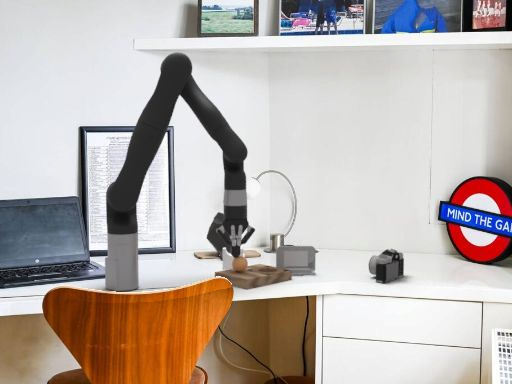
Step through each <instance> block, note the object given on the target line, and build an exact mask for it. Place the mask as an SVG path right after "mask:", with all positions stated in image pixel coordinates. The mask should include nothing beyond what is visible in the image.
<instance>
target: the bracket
mask: <svg viewBox="0 0 512 384" xmlns="http://www.w3.org/2000/svg"><path fill="white" fill-rule="evenodd" d="M240 256H242V257H244V258H246V253H244V247H240ZM233 260H234V257H233V256H232V255H231V254H229V253H228V252H227V250H226V248H224V247H223V261H222V270H229V269H234V268H233V266H232V262H233Z"/></svg>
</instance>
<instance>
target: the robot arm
mask: <svg viewBox="0 0 512 384" xmlns="http://www.w3.org/2000/svg"><path fill="white" fill-rule="evenodd" d="M159 69H160V70H159V71H160V75H159V77H158V80H157V83H156V86H155V89H154V92H153V93H152V95H151V97H150V98H149V99H148V101H147V103H146V104H145V107H144V108H143V110H142V111H141V113H140V115H139V117H138V119H137V122H136V124H135V127H134V128H133V131H132V133H131V137H130V140H129V144H128V148H127V152H126V155H125V160H124V162H123V165H122V168H121V169H120V171H119V173H118V174H117V176H116V179H115V180H114V181H113V182H111V183H110V184H109V186H108V187H107V188H106V189H107V190H106V193H105V208H106V210H105V211H106V214H105V215H106V216H105V217H106V227H107V228H106V230H107V232H106V233H107V234H106V236H107V239H106V240H107V241H106V242H107V256H106V257H105V258H104V268H105V269H104V271H105V272H104V275H105V278H104V279H105V281H104V282H105V286H104V287H105V289H106V290H107V289H108V290H111V291H114V292H121V291H124V292H125V291H126V292H127V291H133V290H135V289H138V288H139V285H140V284H139V282H140V281H139V280H140V279H139V224H138V216H137V215H138V214H137V207H138V206H137V204H138V202H139V197H140V194H141V191H142V188H143V184H144V182H145V179H146V176H147V173H148V171H149V169H150V167H151V165H152V164H153V161H154V159H155V158H156V156H157V154H158V151H159V150H160V147H161V145H162V143H163V142H164V141H163V140H164V138H165V136H166V134H167V130H168V128H169V125H170V123H171V120H172V117H173V114H174V111H175V108H176V103H177V101H178V99H179V97H181V98H182V100H184V102H185V103H186V104H187V106H188V107H189V108H190V110H191V112H192V113H193V114H194V115H195V117H196V118H197V120H198V121H199V123H200V124H201V125H202V127H203V128H204V130H205V131H206V133H207V134H208V135H209V137H210V138H211V139H212V140H213V141H214V142H216V144H217V145H218V146H219V148H220V149H221V151H222V164H223V165H222V166H223V173H224V176H223V177H224V178H223V180H224V182H223V188H224V191H223V202H222V204H223V214H224V221H223V223H222V226H221V227H220V228H219V229H218V228H217V229H216V232H217V233H218V234H219V235H220V237H221V238H222V239H223V240H224V241H225V243H226V244H228V245H231V255H232V256H233V257H234V258H238V256H240V248H241V246H242V245H245V244H247V243H248V241H249V239H250V238H251V237H252V235H254V233H255V231H256V228H254V227H253V226H251V225H250V224H249V220H248V194H247V175H246V172H245V168H244V167H245V166H244V164H245V163H244V161H245V160H246V159H247V157H248V148H247V146H246V144H245V143H244V141H243V140H242V139H241V138H240V136H239V135H238V134H237V133H236V132H235V131H234V129H232V126H230V124H229V123H228V121H227V119H226V118H225V117H224V116H223V114H222V112H221V111H220V109H219V108H218V107H217V105H215V104H214V103H213V101H211V100H210V99H209V98H208V96H207V95H206V94H205V93H204V92H203V91H202V89H201V88H200V86H199V85H198V84H197V82H196V80H195V78H194V76H193V75H192V73H193V64H192V61H191V59H190V57H189V56H188V55H187V54H185V53H183V52H173V53H170V54H168V55H167V56H166V57H165V58H164V59H163V60H162V62H161V64H160V68H159ZM224 229H225V230H226V231H227V233H228V234H229V235H230V240H228V239H227V237H226V236H225V235H224V234H223V233H224ZM245 232H246V233H245ZM244 233H245V234H244ZM243 234H244V236H243V237H242V235H243ZM235 235H236V241H235Z"/></svg>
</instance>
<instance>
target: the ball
mask: <svg viewBox="0 0 512 384" xmlns="http://www.w3.org/2000/svg"><path fill="white" fill-rule="evenodd" d="M232 266H233V269H234V270H236V271H238V272H242V271H244V270H245V269H246V268H247V266H249V264H248V260H247V259H246V257H245V258H244V257H242V256H238V258H234V260H233V262H232Z"/></svg>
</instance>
